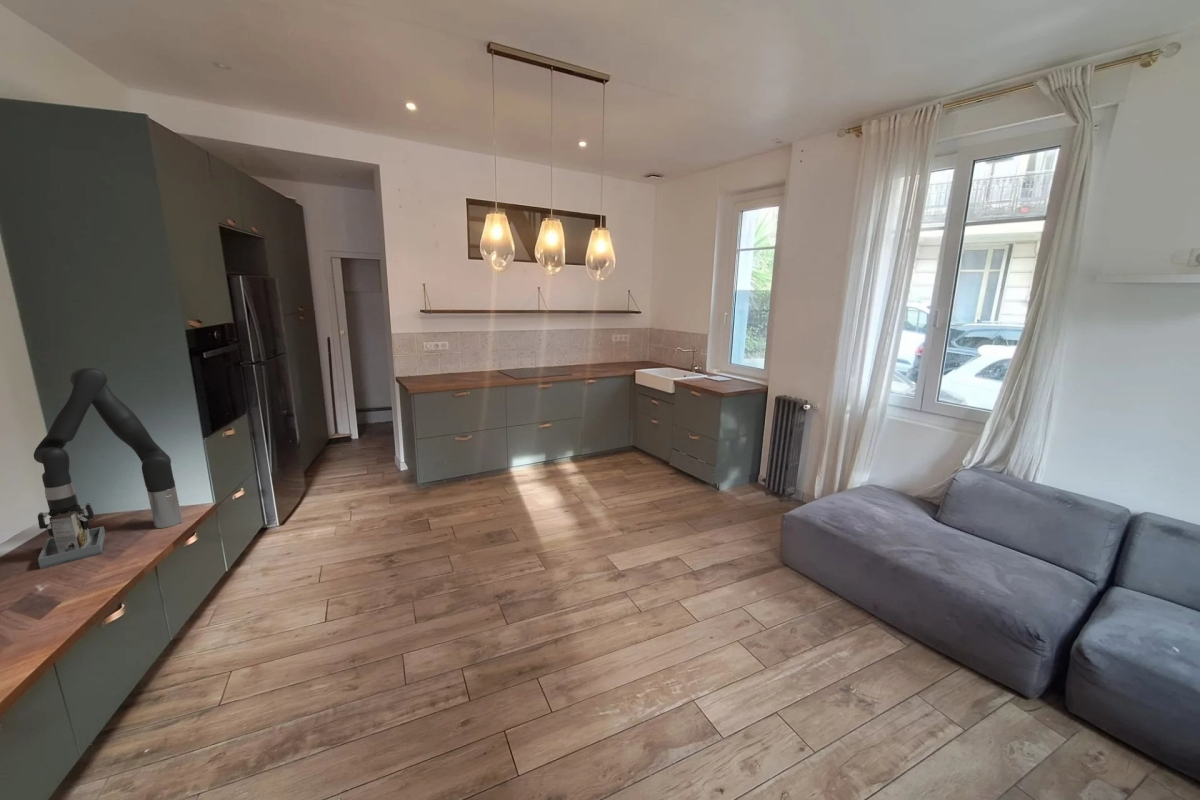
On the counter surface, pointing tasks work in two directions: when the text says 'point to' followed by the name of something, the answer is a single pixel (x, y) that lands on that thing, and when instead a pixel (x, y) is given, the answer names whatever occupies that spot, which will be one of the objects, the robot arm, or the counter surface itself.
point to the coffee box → (69, 531)
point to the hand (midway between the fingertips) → (70, 532)
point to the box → (52, 557)
